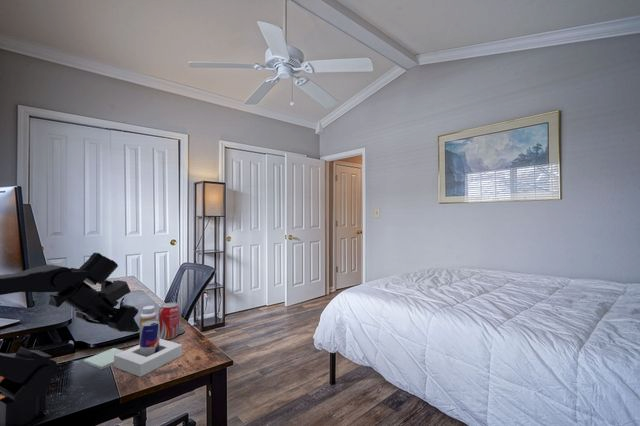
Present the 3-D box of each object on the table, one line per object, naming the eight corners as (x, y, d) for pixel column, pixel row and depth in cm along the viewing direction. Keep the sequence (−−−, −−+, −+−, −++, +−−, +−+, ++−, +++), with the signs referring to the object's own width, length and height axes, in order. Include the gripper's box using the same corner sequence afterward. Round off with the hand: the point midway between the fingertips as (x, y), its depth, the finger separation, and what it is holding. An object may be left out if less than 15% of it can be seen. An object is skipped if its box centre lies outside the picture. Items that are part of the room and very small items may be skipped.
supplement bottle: (136, 333, 112) (137, 308, 112) (150, 328, 116) (151, 304, 116) (145, 336, 109) (145, 310, 109) (158, 331, 114) (159, 306, 114)
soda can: (158, 334, 111) (159, 302, 111) (179, 331, 114) (180, 301, 114) (156, 342, 105) (157, 308, 105) (178, 339, 108) (179, 306, 108)
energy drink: (149, 366, 89) (151, 326, 89) (134, 364, 90) (136, 324, 90) (162, 357, 94) (163, 320, 94) (148, 355, 95) (149, 318, 95)
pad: (101, 369, 86) (101, 366, 86) (83, 362, 90) (83, 359, 90) (131, 356, 94) (131, 353, 94) (114, 350, 98) (114, 347, 98)
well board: (140, 376, 83) (140, 364, 83) (113, 366, 88) (114, 355, 88) (181, 355, 96) (181, 344, 96) (156, 347, 101) (156, 337, 101)
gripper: (132, 277, 77) (168, 307, 87) (89, 269, 84) (127, 298, 94) (98, 316, 69) (141, 344, 80) (55, 304, 77) (99, 331, 87)
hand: (127, 327), depth 85 cm, fingers open, 9 cm apart
